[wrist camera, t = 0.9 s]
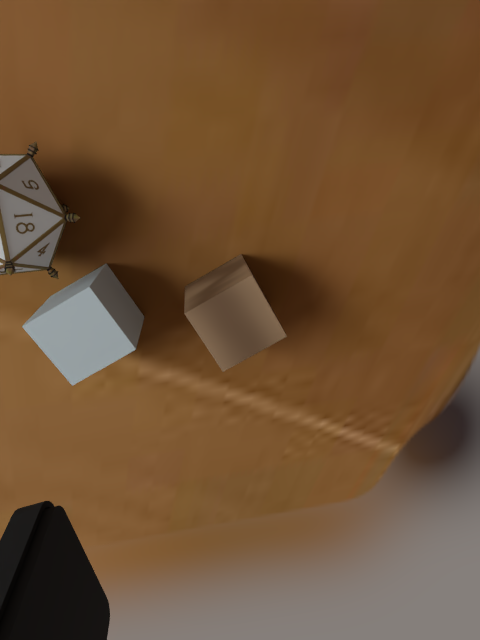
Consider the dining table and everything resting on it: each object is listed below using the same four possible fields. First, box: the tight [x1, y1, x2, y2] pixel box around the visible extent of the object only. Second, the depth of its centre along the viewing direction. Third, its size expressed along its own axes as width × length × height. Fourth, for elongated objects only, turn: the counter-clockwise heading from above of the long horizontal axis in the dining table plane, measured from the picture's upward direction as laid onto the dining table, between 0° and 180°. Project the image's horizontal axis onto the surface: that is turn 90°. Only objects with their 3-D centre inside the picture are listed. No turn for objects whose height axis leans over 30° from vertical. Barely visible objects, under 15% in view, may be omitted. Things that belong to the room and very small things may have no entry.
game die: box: [0, 142, 81, 279], centre depth 26 cm, size 9×8×10 cm
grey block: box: [22, 263, 144, 386], centre depth 30 cm, size 5×5×6 cm
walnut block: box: [184, 254, 287, 372], centre depth 31 cm, size 5×5×6 cm
